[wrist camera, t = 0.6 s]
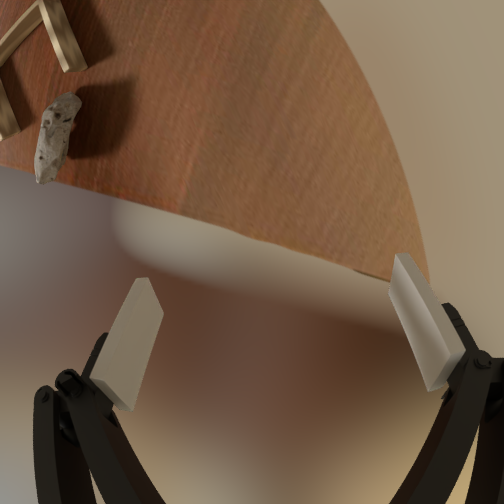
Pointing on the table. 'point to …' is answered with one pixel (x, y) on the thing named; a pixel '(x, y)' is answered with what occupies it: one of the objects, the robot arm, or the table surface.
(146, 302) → the robot arm
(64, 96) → the stone
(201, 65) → the table surface
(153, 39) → the table surface
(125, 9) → the table surface
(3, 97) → the bracket
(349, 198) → the table surface
